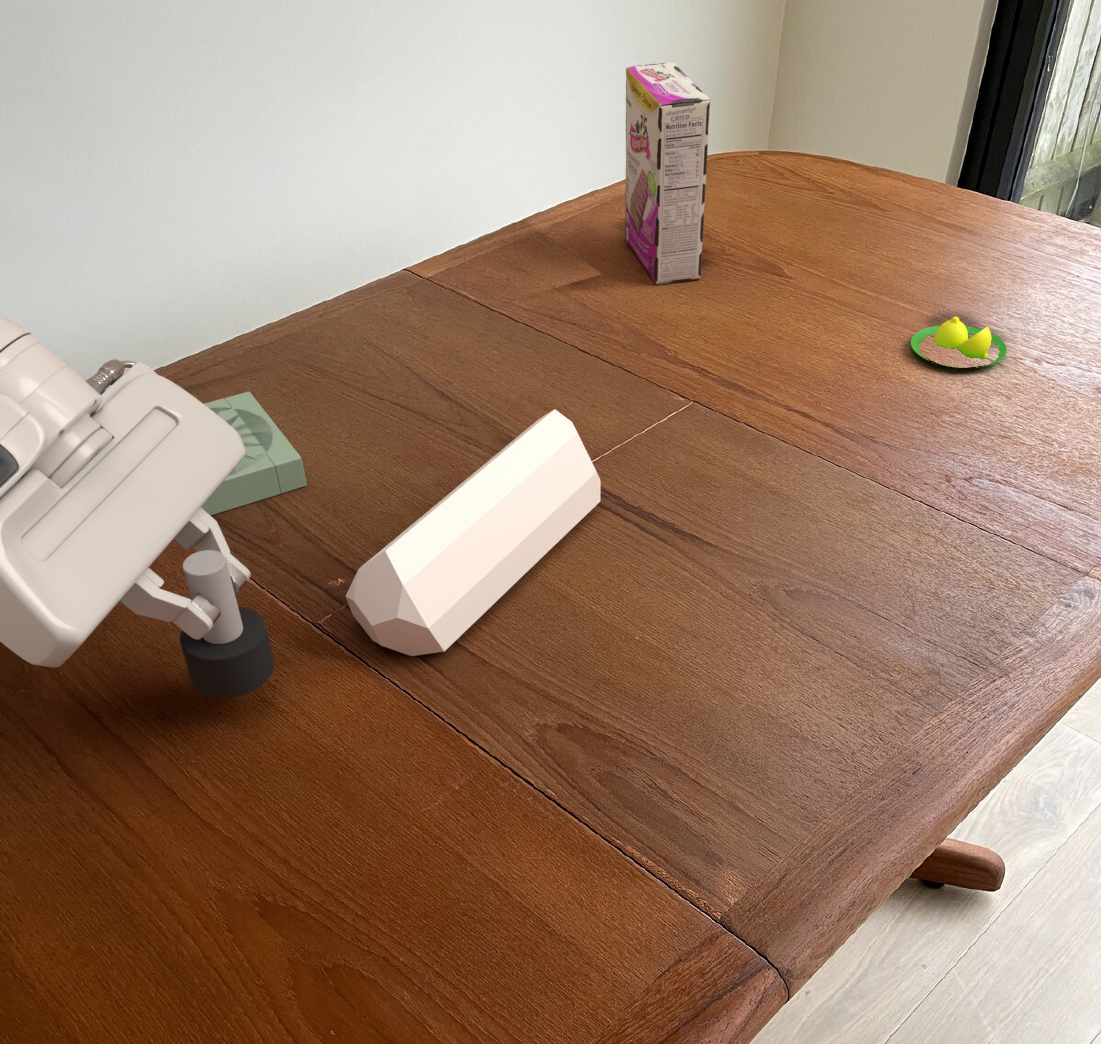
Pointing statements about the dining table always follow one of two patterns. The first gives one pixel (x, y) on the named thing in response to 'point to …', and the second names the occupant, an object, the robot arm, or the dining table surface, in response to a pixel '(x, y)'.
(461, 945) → the dining table surface
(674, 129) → the candy bar box
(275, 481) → the sink plate
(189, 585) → the stopper
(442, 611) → the crystal
